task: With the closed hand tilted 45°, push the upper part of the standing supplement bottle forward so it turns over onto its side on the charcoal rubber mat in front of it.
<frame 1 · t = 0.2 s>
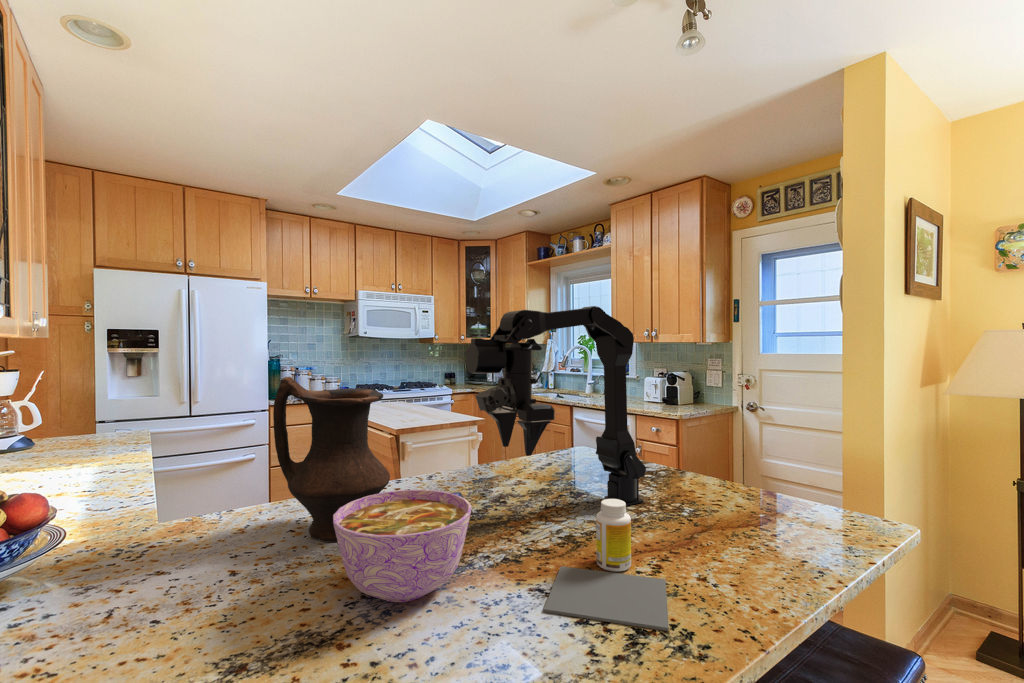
hand: (516, 450, 97), 15 cm above the countertop, tool pointing down, fingers open, 9 cm apart
bowl of food: (404, 589, 72), on the countertop
jug: (334, 531, 94), on the countertop
rubber mat: (608, 596, 69), on the countertop
smartphone: (450, 508, 108), on the countertop
supplement bottle: (613, 566, 79), on the countertop
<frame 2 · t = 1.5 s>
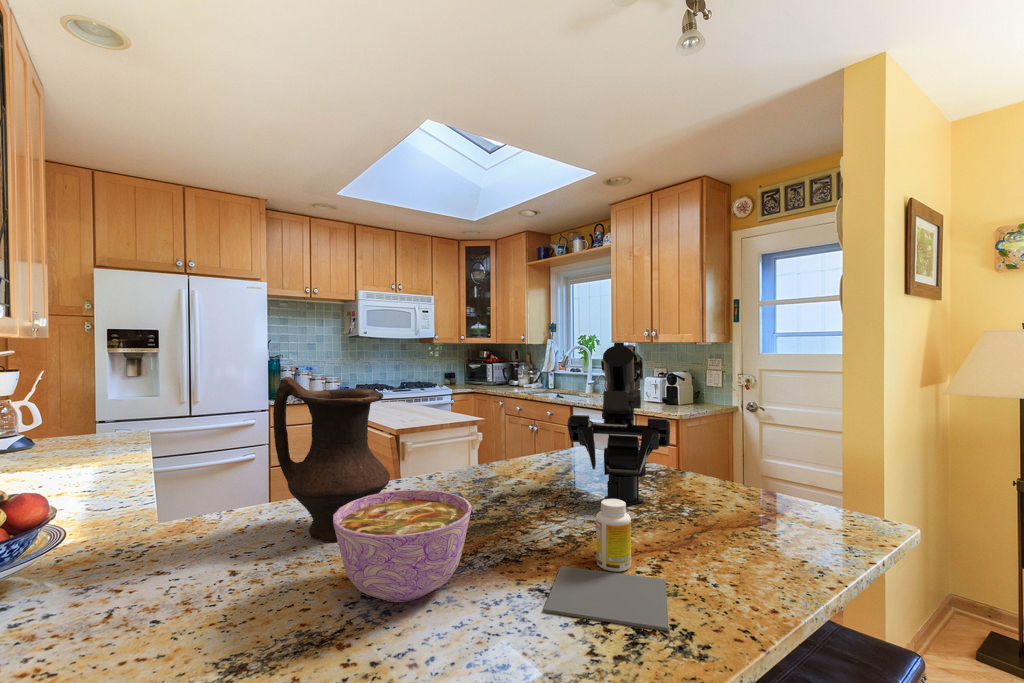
hand: (615, 469, 87), 13 cm above the countertop, tool tilted 45°, fingers open, 8 cm apart
nothing on the countertop moved.
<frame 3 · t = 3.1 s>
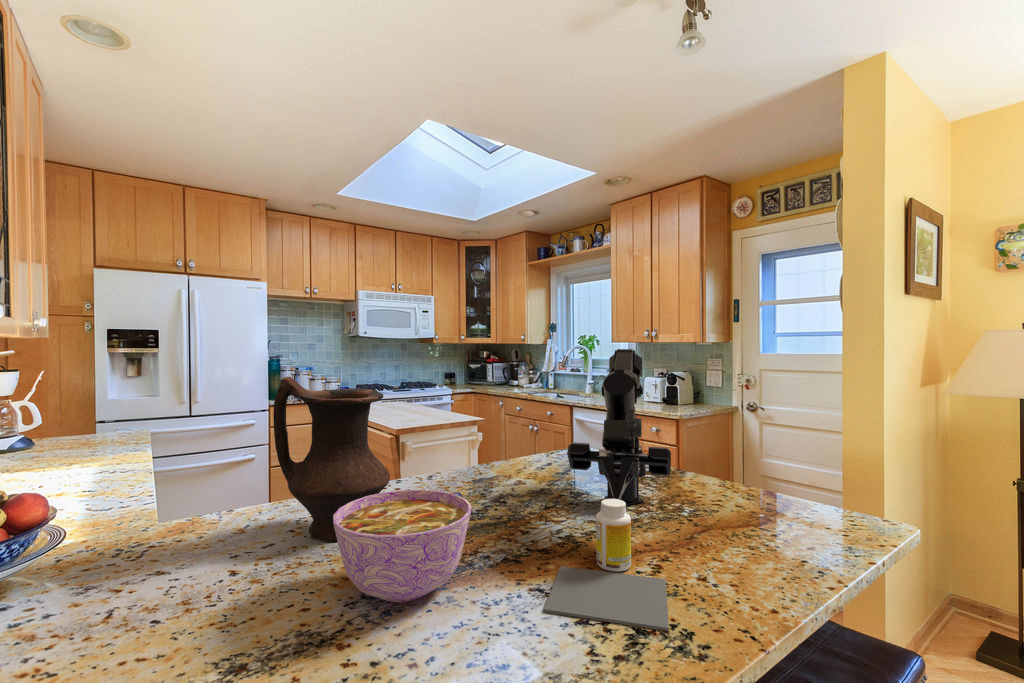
hand: (616, 500, 86), 8 cm above the countertop, tool tilted 45°, fingers closed
nothing on the countertop moved.
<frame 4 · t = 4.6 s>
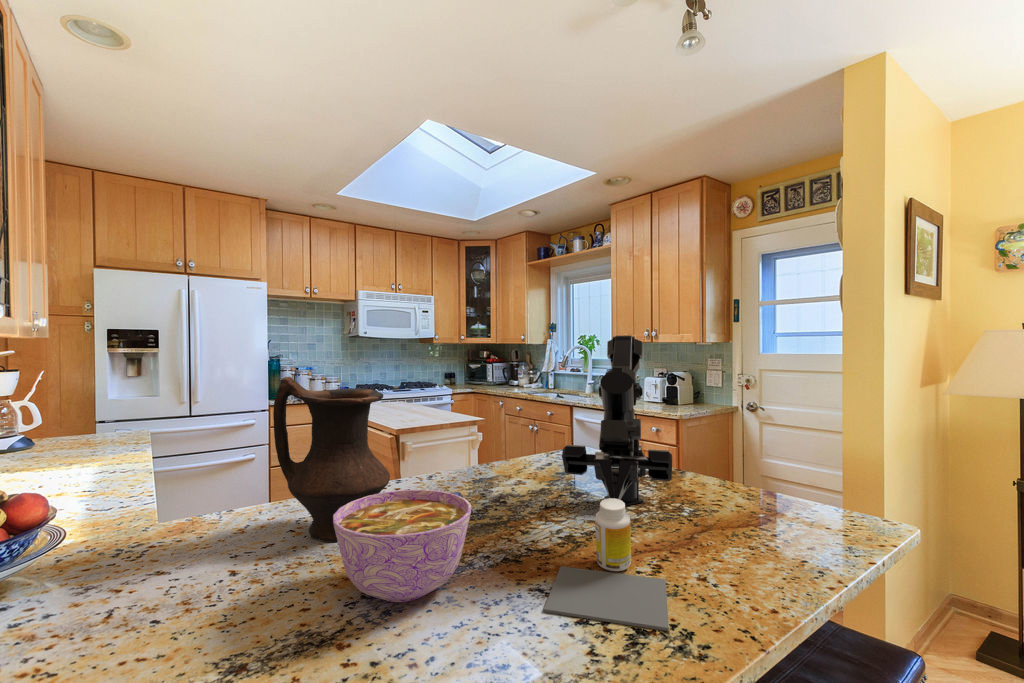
hand: (613, 506, 80), 9 cm above the countertop, tool tilted 45°, fingers closed, pressing on supplement bottle
supplement bottle: (613, 563, 79), on the countertop, touching gripper
everything else where it was.
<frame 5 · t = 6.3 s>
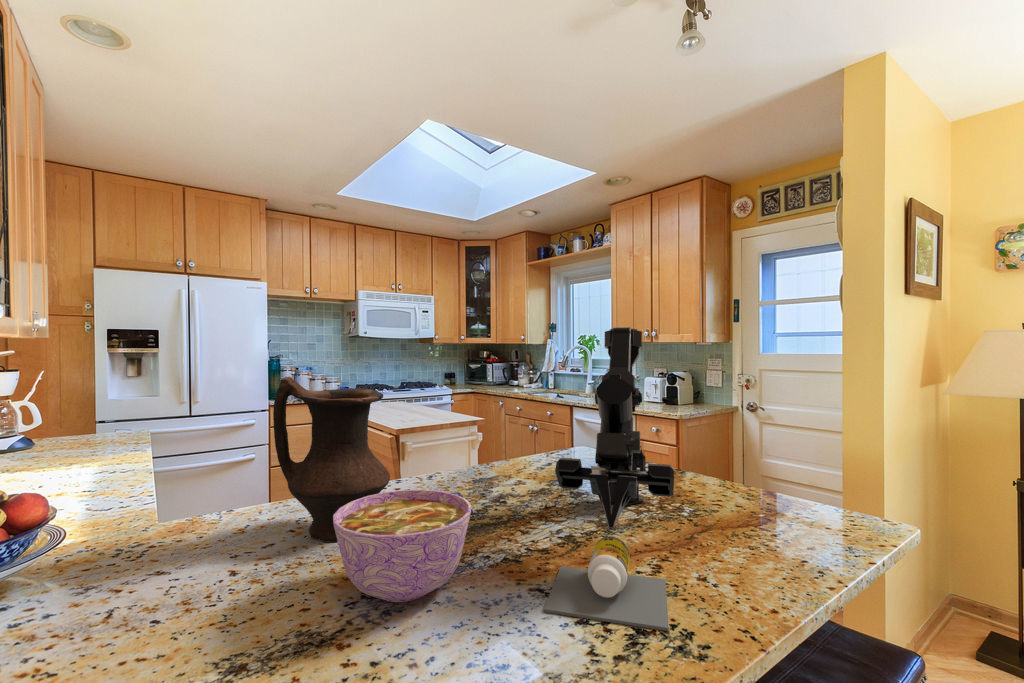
hand: (611, 526, 74), 8 cm above the countertop, tool tilted 45°, fingers closed
supplement bottle: (612, 551, 77), point 3 cm above the countertop, touching rubber mat
everything else where it was.
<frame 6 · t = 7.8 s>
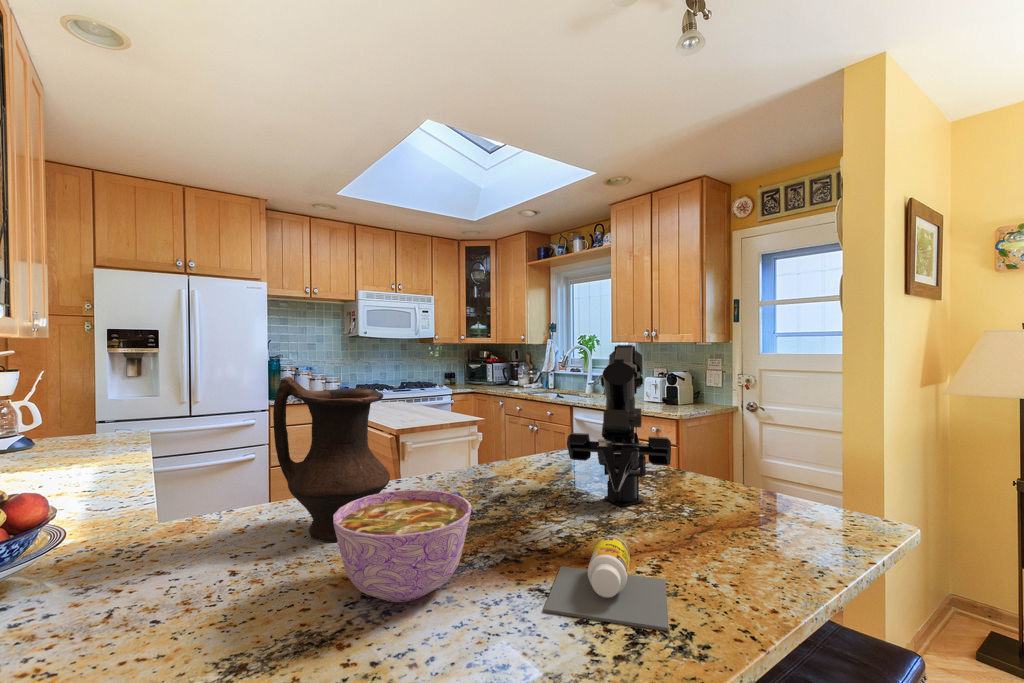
hand: (616, 490, 85), 10 cm above the countertop, tool tilted 45°, fingers closed
nothing on the countertop moved.
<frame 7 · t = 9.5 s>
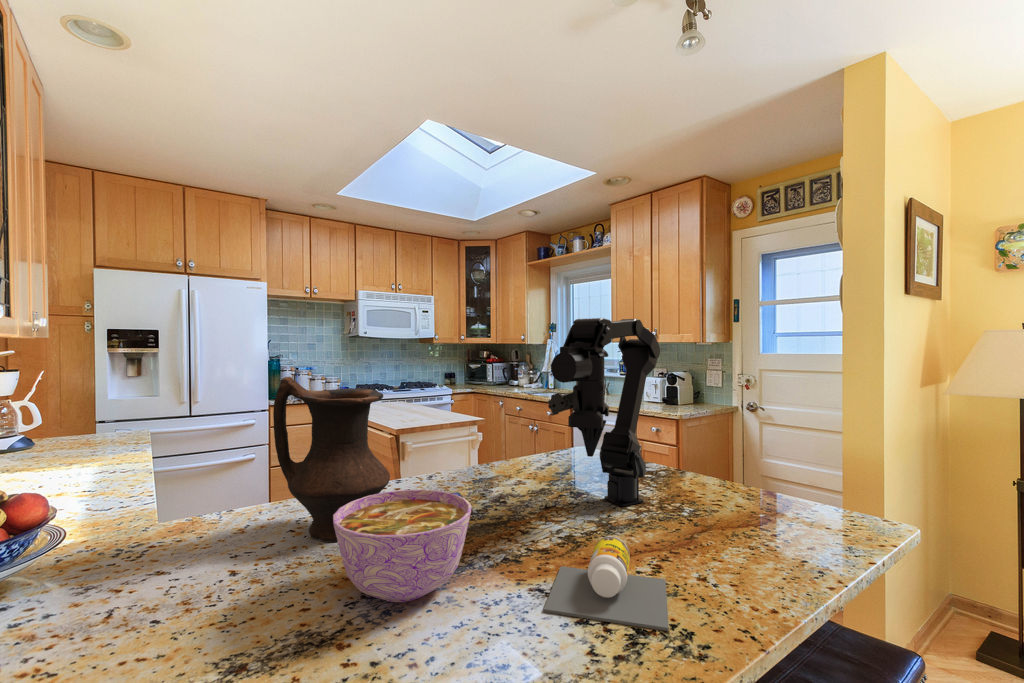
hand: (590, 456, 99), 13 cm above the countertop, tool pointing down, fingers closed
nothing on the countertop moved.
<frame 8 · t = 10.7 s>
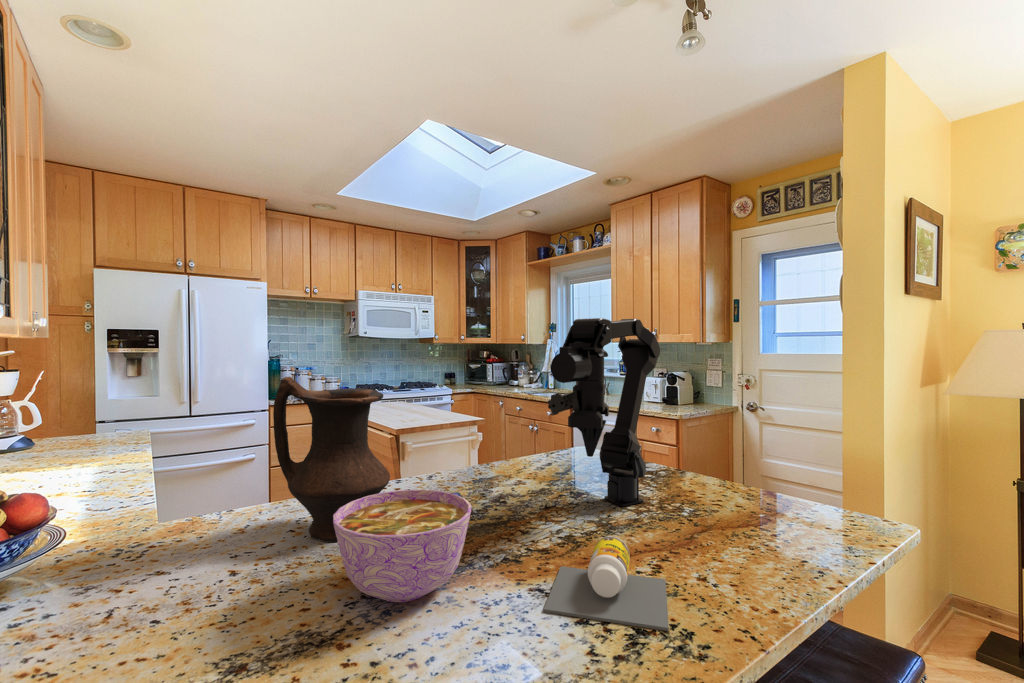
hand: (590, 456, 99), 13 cm above the countertop, tool pointing down, fingers closed
nothing on the countertop moved.
at the end: supplement bottle tilted 90°; supplement bottle touching rubber mat; supplement bottle moved 4.0 cm from its start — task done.
